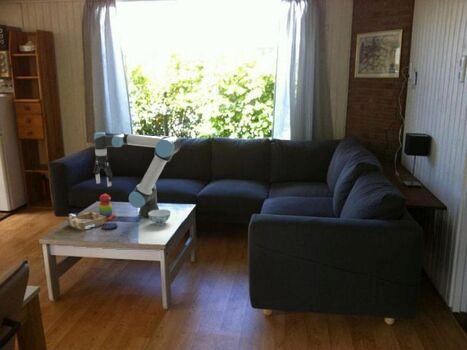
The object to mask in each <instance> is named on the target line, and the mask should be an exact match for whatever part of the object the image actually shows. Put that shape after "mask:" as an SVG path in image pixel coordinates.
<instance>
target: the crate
mask: <svg viewBox="0 0 467 350" xmlns="http://www.w3.org/2000/svg"><path fill="white" fill-rule="evenodd" d="M74 217H76V218H78V219H91V221H88V222H78V221H76V220H73V219H74ZM107 222H108V221H106V216H102V215H100V213H96V212H93V211H92V210H90V211H89V212H86V213H82V214H79V215H75V216H72V217H69V216H68V217H67V226H69V227H71V228H74V229H76V230H79V231H82V232H85V231H86V230H85V227H86V226H88V225H92V224H95V226H96V227H95V228H97V227H100V225H101V226H103V224H104V225H106V224H105V223H107Z"/></svg>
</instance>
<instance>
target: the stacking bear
mask: <svg viewBox="0 0 467 350" xmlns="http://www.w3.org/2000/svg"><path fill="white" fill-rule="evenodd" d="M111 199H112V198H111V196H110V195H109V194H107V193H104V194H101V195H100V196H99V201H100V203H99V205H98V214H99V215H102V216H106V222H109V221H112V219H115V218H116V217H117V216H116V214H114V213H113V205H112V203H111Z"/></svg>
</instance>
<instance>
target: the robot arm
mask: <svg viewBox="0 0 467 350" xmlns="http://www.w3.org/2000/svg"><path fill="white" fill-rule="evenodd" d="M93 141H94V153H95V161H94V168H93V172H92V173H93V174H94V175H95V181H96V182H95V183H96V184H101V177H100V176H101V175H100V172H101V169H102V170H103V171H104V172H105V175H106V184H107V187H108V188H109V187H111V186H112V177H113V176H114V174H113V171H112V169H111V166H110V162H107V161H108V155H107V154H108V153H107V147H109V148H110V147H111V148H113V147H114V148H121V147H122V146H123V145H130V146H139V147H148V148H155V149H154V152H153V153H154V157H153V159H152V161H151V163H150V165H149V167H148V169H147V171H146V172H145V174H144V176H143V178H142V180H141V181H140V183H139V184H137V185H136V187H135V188H134V189H133V191H132V192H131V193H130V194H129V196H128V202H129V204H130V205H131V206H132V207H133V208H136V209H139V210H138V215H139V216H138V217H141V218H144V219H145V218H146V219H147V218H149V215H148V213H149V212H150V211H153V210H159V209H160V208H159V205H158V197H157V195H158V194H157V186H156V182H157V180H158V179H159V177H160V175H161V173H162V171H163V169H164V167H165V165H166V164H167V162H170V161H171V160H172V158H173V156H174V154H176V153H178V152H179V151H180V149H181V146H182V144H181V141H180V138H178V137H176V136H173V135H162V136H153V135H152V136H151V135H141V134H133V133H127V132H122V133H118V134H115V135H106V133H105V131H103V132H95V133H94V134H93ZM149 219H150V218H149Z"/></svg>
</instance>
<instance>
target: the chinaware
mask: <svg viewBox="0 0 467 350" xmlns="http://www.w3.org/2000/svg"><path fill="white" fill-rule="evenodd" d="M148 215H149V219H150V221H151V222H152V223H154V225H156V226H161V225H165V224H166V222H167V221H168V220H169V219H170V217H171V210H169V209H164V208H163V209H160V208H159V210H153V211H150V212H149V213H148Z"/></svg>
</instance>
